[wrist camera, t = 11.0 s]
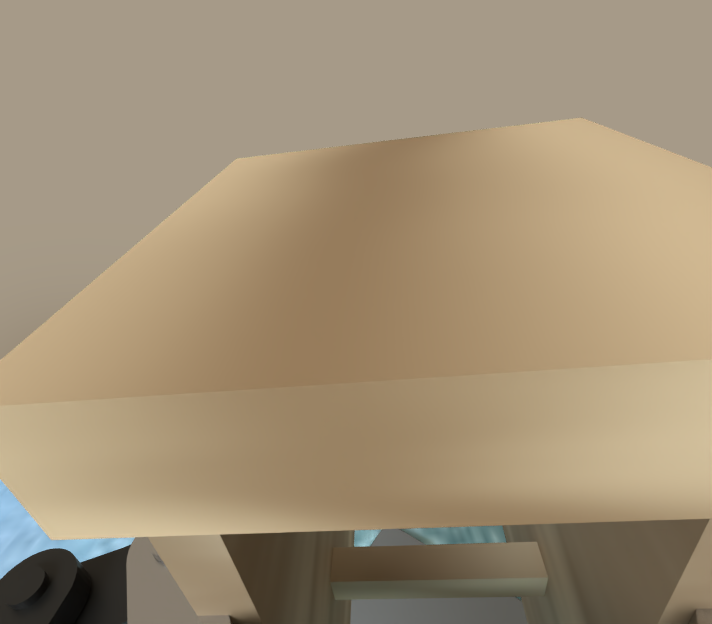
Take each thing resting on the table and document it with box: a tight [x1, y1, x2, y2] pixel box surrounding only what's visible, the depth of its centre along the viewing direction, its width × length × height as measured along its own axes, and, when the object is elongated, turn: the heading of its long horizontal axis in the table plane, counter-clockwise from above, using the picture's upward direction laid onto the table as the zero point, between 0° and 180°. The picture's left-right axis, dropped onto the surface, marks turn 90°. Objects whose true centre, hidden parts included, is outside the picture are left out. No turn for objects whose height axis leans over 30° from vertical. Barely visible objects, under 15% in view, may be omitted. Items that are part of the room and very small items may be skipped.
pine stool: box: [0, 118, 712, 624], centre depth 9 cm, size 7×7×12 cm
